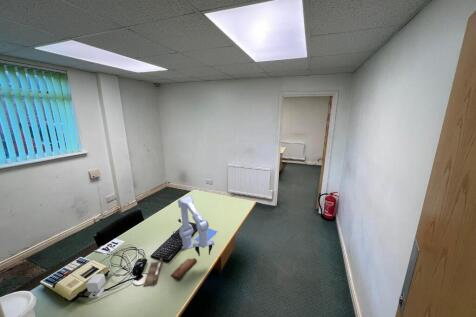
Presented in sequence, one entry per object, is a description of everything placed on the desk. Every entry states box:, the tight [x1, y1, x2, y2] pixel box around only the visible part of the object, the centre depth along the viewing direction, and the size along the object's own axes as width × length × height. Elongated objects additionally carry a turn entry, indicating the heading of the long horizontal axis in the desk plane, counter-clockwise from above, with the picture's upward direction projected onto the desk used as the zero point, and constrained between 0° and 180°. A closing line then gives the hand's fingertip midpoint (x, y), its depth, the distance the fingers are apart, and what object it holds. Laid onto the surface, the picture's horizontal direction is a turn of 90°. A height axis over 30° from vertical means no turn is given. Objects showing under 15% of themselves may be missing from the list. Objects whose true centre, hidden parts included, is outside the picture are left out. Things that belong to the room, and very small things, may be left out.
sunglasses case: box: [169, 257, 198, 282], centre depth 127 cm, size 18×7×7 cm
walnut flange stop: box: [143, 258, 164, 287], centre depth 123 cm, size 18×8×4 cm, turn 10°
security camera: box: [85, 273, 107, 299], centre depth 110 cm, size 6×7×10 cm
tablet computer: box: [193, 227, 219, 243], centre depth 161 cm, size 19×13×1 cm, turn 151°
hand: (204, 254), depth 128 cm, fingers open, 6 cm apart
